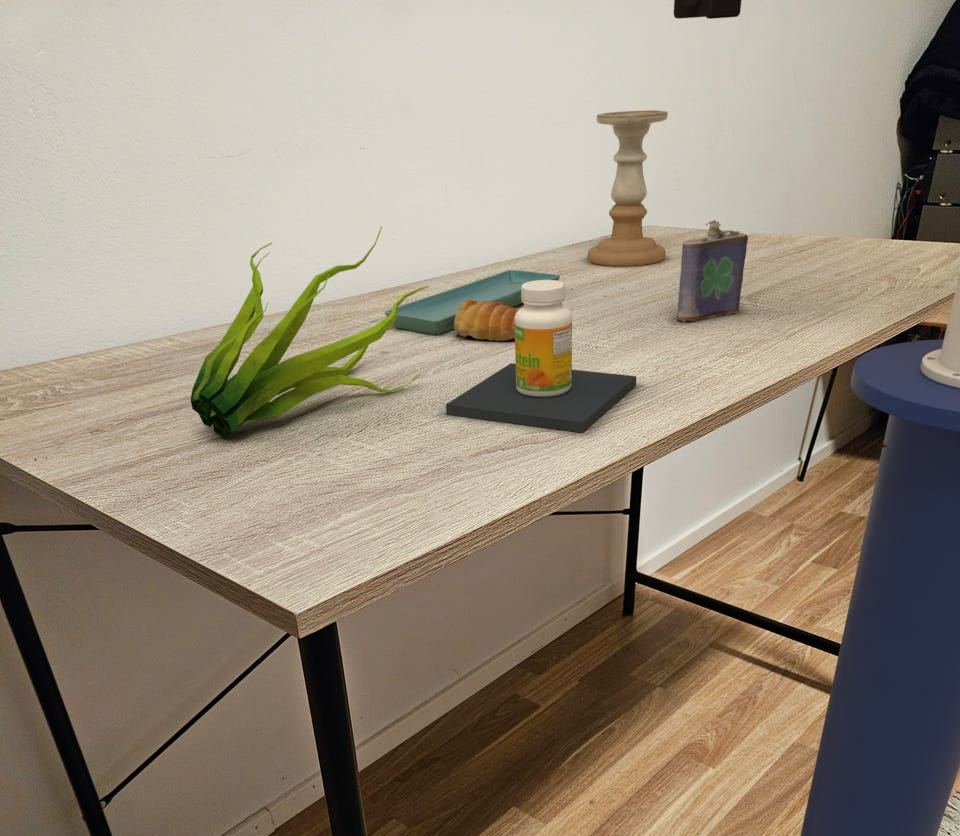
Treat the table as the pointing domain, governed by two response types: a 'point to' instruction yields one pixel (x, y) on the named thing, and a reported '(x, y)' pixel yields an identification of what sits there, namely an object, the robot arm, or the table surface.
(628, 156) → the candle holder
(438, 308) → the teal serving tray
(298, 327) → the decorative plant
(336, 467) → the table surface
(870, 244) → the table surface
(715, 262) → the flask
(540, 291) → the supplement bottle
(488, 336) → the pastry
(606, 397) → the mat
